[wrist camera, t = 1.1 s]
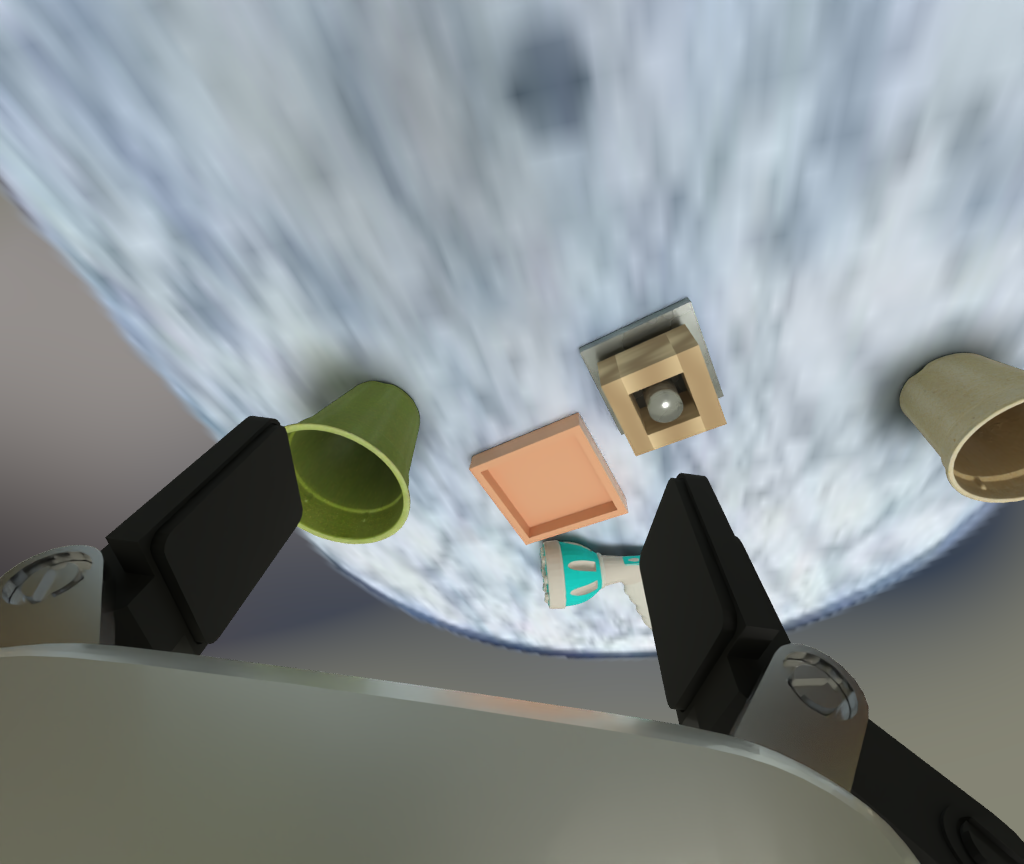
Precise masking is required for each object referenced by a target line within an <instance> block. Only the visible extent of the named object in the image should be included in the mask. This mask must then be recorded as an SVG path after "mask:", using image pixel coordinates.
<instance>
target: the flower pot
mask: <svg viewBox="0 0 1024 864" xmlns="http://www.w3.org/2000/svg"><path fill="white" fill-rule="evenodd" d="M900 407H901V409H902V411H903V413H904V414H905V415H906V416H907V417H908V418H909V419H910V420H911V421H912V423H913V424H914V425H915V426H916V427H917V429H918V430H919V431H920V432H921V434H922V435H923V436H924V437H925V438H926V440H927V441H928V442H929V443H930V444H931V446H932V447H933V448H934V449H935V451H936V452H937V453H938V454H939V456H940V457H941V460H942V463H943V465H944V467H945V469H946V475H947V478H948V481H949V482H950V484H951V485H952V487H953V488H955V489H956V490H957V491H958V492H959V493H961V494H962V495H964V496H966V497H969V498H971V499H974V500H979V501H983V502H996V503H997V502H1001V503H1004V502H1013V501H1019V500H1024V370H1021V369H1018V368H1015V367H1012V366H1009V365H1006V364H1003V363H1000V362H998V361H995V360H992V359H989V358H986V357H984V356H981V355H978V354H973V353H956V354H951V355H947V356H944V357H941V358H938V359H936V360H934V361H932V362H930V363H928V364H927V365H926V366H925V367H924V368H923V369H922V370H921V371H920V372H919V373H917V374H916V375H914V376H912V377H911V378H909V379H908V381H907V382H906V383H905V385H904V387H903V389H902V391H901V394H900Z"/></svg>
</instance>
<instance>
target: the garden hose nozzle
mask: <svg viewBox="0 0 1024 864" xmlns="http://www.w3.org/2000/svg"><path fill="white" fill-rule="evenodd" d="M540 551H541V553H540V557H541V558H542V567H541V573H542V576H543V582H544V584H543V591H544V592H546V593H545V602H546V603H548V605H549V608H550V609H563V608H565V607H566V606H571V605H576V604H580V603H583V602H585V601H587V600H589V599H590V598H592V597H593V596H594V595H595V594H596V593H597V592H598V591H599V590H600V589H601V588H604V587H605V586H607V585H611V584H614V583H618V582H622V583H623V584H624V591H625V593H626V594H627V595H629V598H630V600H631V601H632V602H633V603H634V604H636V610H637V612H638V613H639V614H640V615H642V620H643V621H644V623H645V624H646V625H647V626H648V627H649V628H650V629H652V626H651V622H650V617H649V612H648V607H647V602H646V598H645V593H644V588H643V583H642V578H641V573H640V568H639V560H640V555H639V556H606V555H601V554H600V553H595V552H593V551H592V550H590V549H589V548H587V547H585V546H583V545H581V544H578V543H574V542H558V540H553V541H546V542H543V547H541V548H540Z"/></svg>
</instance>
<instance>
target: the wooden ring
mask: <svg viewBox="0 0 1024 864" xmlns="http://www.w3.org/2000/svg"><path fill="white" fill-rule="evenodd" d="M597 365H598V371H599V377H600V384H601V388H602V390H603V392H604V394H605V396H606V398H607V400H608V402H609V404H610V406H611V408H612V409H613V411H614V413H615V415H616V417H617V419H618V421H619V423H620V425H621V427H622V429H623V431H624V433H625V435H626V437H627V439H628V441H629V443H630V445H631V447H632V449H633V451H634V453H635V455H636V456H638V455H641V454H643V453H646V452H649V451H652V450H655V449H658V448H660V447H663V446H666V445H669V444H672V443H674V442H677V441H680V440H683V439H686V438H688V437H691V436H694V435H697V434H700V433H702V432H705V431H708V430H711V429H714V428H716V427H719V426H722V425H725V424H727V423H726V420H725V417H724V415H723V412H722V409H721V406H720V403H719V400H718V398H717V395H716V392H715V389H714V386H713V384H712V381H711V378H710V375H709V372H708V369H707V367H706V364H705V361H704V358H703V355H702V353H701V350H700V347H699V344H698V343H697V341H696V340H695V338H694V337H693V335H692V334H691V333H690V331H689V330H688V328H687V327H686V325H685V324H683V325H681V326H679V327H677V328H674V329H672V330H670V331H668V332H665V333H663V334H661V335H659V336H656V337H654V338H652V339H650V340H648V341H645V342H643V343H641V344H639V345H636V346H634V347H632V348H630V349H627V350H625V351H623V352H621V353H618V354H616V355H614V356H612V357H609V358H607V359H605V360H603V361H601V362H598V363H597ZM680 373H681V375H682V378H683V380H684V383H685V385H686V388H687V390H686V391H684V392H681V393H679V396H680V398H681V400H682V402H683V411H682V413H681V415H680V416H679V417H678V418H677V419H675V420H673V421H671V422H667V423H660V422H657V421H655V420H653V419H652V418H651V416H650V414H649V411H648V408H647V406H646V407H643V408H641V409H640V408H639V406H638V404H637V402H636V399H635V397H634V395H633V393H634V392H636V391H639V390H641V389H643V388H646V387H648V386H651V385H653V384H656V383H658V382H661V381H663V380H665V379H668V378H670V377H673V376H675V375H678V374H680Z"/></svg>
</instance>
